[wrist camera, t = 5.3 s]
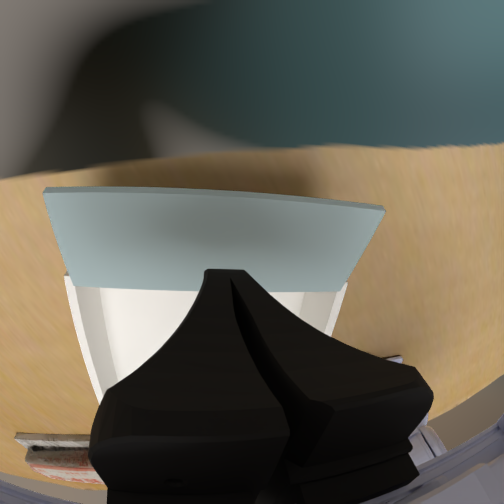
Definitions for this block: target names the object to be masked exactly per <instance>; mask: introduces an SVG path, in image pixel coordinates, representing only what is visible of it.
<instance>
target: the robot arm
mask: <svg viewBox="0 0 504 504" xmlns="http://www.w3.org/2000/svg"><path fill="white" fill-rule="evenodd" d="M402 361H403V358H402V357H401V356H398V357H393V358H388V359H383V358H380V357H377V356H374V355H371V354H369V353H366V352H363V351H361V350H358V349H356V348H353V347H351V346H349V345H346V344H344V343H342V342H340V341H338V340H336V339H334V338H332V337H330V336H328V335H326V334H325V333H323V332H321V331H319V330H318V329H316V328H314V327H313V326H311V325H310V324H308V323H306V322H305V321H303V320H302V319H300V318H299V317H298V316H296V315H295V314H293V313H292V312H291V311H290V310H288V309H287V308H286V307H284V306H283V305H282V304H281V303H280V302H278V301H277V300H276V299H275V298H274V297H273V296H271V295H270V294H269V293H268V292H267V291H266V290H265V289H264V288H263V287H262V286H261V285H260V284H259V283H258V282H257V281H255V280H254V279H253V278H252V277H251V276H250V275H249V274H248V273H247V272H246V271H245V270H242V269H206V270H205V271H204V279H203V283H202V285H201V288H200V290H199V293H198V295H197V297H196V299H195V301H194V303H193V305H192V306H191V308H190V310H189V312H188V313H187V315H186V317H185V318H184V320H183V321H182V322H181V324H180V325H179V327H178V328H177V329H176V330H175V332H174V333H173V334H172V335H171V337H170V338H169V339H168V340H167V341H166V342H165V343H164V345H163V346H162V347H161V348H160V349H159V350H158V351H157V352H156V353H155V354H153V355H152V356H151V357H150V358H149V359H148V360H147V361H145V362H144V363H143V364H142V365H141V366H140V367H139V368H137V369H136V370H135V371H134V372H132V373H131V374H130V375H128V376H127V377H125V378H124V379H122V380H121V381H119V382H118V383H116V384H115V385H113V386H112V387H110V388H108V389H107V390H106V392H105V394H104V396H103V398H102V401H101V403H100V405H99V408H98V410H97V413H96V416H95V419H94V422H93V425H92V429H91V435H90V442H89V449H88V459H89V461H90V464H91V465H92V467H93V468H94V470H95V471H96V472H97V474H98V475H99V477H100V478H101V479H102V481H103V482H104V483H105V485H106V486H107V487H108V490H107V504H504V413H503V414H502V416H501V417H500V418H499V419H498V420H497V423H495V424H494V425H492V426H490V427H489V428H487V429H486V430H484V431H483V432H481V433H479V434H478V435H476V436H474V437H473V438H471V439H469V440H467V441H466V442H464V443H462V444H460V445H458V446H457V447H455V448H453V449H451V450H449V451H447V450H446V448H445V447H444V445H443V443H442V442H441V440H440V438H439V437H438V436H437V434H436V432H435V431H434V430H433V429H432V428H431V427H430V426H426V424H427V421H428V412H429V410H430V408H431V405H432V402H433V399H434V396H433V391H432V390H431V388H430V387H429V386H428V384H427V383H426V381H425V380H424V379H423V377H422V376H421V374H420V373H419V372H418V370H417V369H416V368H415V367H413V366H409V365H405V364H401V363H402ZM421 434H422V435H421ZM422 436H423V437H422ZM0 504H81V503H75V502H71V501H67V500H63V499H59V498H55V497H51V496H47V495H44V494H41V493H37V492H34V491H31V490H28V489H25V488H21V487H19V486H16V485H13V484H10V483H8V482H5V481H2V480H0Z"/></svg>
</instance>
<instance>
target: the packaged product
mask: <svg viewBox="0 0 504 504" xmlns="http://www.w3.org/2000/svg"><path fill="white" fill-rule="evenodd" d="M14 439H15V440H16V441H18V442H19V443H20V444H22V445H23V446H24V447H25V448H27V449H28V452H27V454H26V457H25V461H26V462H27V464H28V465H29V466H30V468H31V469H32V470H33V471H35V472H37V473H40V474H42V475H44V476H47V477H50V478H53V479H59V480H64V481H65V480H67V481H74V482H83V483H97V484H105V483H104V482H103V481H102V479H101V478H100V477H99V475H98V474H97V472H96V471H95V470H94V468H93V467H92V465H91V464H90V461H89V459H88V449H89V442H90V435H60V434H33V433H17V434H16V436H15V437H14Z"/></svg>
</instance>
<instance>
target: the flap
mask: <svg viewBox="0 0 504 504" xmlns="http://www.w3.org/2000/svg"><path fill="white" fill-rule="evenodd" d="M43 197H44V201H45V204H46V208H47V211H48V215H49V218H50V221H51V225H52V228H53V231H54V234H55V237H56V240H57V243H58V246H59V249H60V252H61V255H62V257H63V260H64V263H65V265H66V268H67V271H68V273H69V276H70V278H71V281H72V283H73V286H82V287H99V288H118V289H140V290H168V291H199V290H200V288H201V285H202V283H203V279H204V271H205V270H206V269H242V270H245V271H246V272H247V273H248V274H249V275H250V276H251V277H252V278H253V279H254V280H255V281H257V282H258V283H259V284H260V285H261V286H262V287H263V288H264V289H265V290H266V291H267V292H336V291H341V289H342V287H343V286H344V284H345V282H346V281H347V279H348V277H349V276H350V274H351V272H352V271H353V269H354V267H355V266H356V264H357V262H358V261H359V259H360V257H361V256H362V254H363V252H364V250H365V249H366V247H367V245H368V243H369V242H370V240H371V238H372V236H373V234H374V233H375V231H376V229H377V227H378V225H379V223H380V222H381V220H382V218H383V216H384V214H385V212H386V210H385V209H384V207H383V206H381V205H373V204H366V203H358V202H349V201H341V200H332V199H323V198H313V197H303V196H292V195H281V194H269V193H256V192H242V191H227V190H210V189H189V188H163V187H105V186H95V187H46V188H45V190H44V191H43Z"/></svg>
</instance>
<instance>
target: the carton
mask: <svg viewBox="0 0 504 504" xmlns="http://www.w3.org/2000/svg"><path fill="white" fill-rule="evenodd" d="M64 279H65V285H66V290H67V295H68V299H69V304H70V308H71V313H72V317H73V321H74V325H75V329H76V333H77V337H78V340H79V344H80V347H81V351H82V354H83V357H84V361H85V364H86V367H87V370H88V373H89V376H90V379H91V382H92V385H93V388H94V391H95V394H96V396H97V399H98V402H99V404H100V403H101V401H102V398H103V396H104V394H105V392H106V390H107V389H108V388H110V387H112V386H113V385H115V384H116V383H118V382H119V381H121V380H122V379H124V378H125V377H127V376H128V375H130V374H131V373H132V372H134V371H135V370H136V369H137V368H139V367H140V366H141V365H142V364H143V363H144V362H145V361H147V360H148V359H149V358H150V357H151V356H152V355H153V354H155V353H156V352H157V351H158V350H159V349H160V348H161V347H162V346H163V345H164V343H165V342H166V341H167V340H168V339H169V338H170V337H171V335H172V334H173V333H174V332H175V330H176V329H177V328H178V327H179V325H180V324H181V322H182V321H183V320H184V318H185V317H186V315H187V313H188V312H189V310H190V308H191V306H192V305H193V303H194V301H195V299H196V297H197V295H198V293H199V291H168V290H140V289H118V288H99V287H82V286H73V283H72V281H71V278H70V276H69V273H68V271H67V272H66V273H65V275H64ZM347 285H348V282H347V281H346V282H345V284H344V286H343V287H342V289H341V291H336V292H268V293H269V294H270V295H271V296H273V297H274V298H275V299H276V300H277V301H278V302H280V303H281V304H282V305H283V306H284V307H286V308H287V309H288V310H290V311H291V312H292V313H293V314H295V315H296V316H298V317H299V318H300V319H302V320H303V321H305V322H306V323H308V324H310V325H311V326H313V327H314V328H316V329H318V330H319V331H321V332H323V333H325V334H326V335H328V336H330V337H331V335H332V332H333V329H334V326H335V323H336V320H337V317H338V314H339V311H340V307H341V304H342V301H343V298H344V295H345V291H346V288H347Z"/></svg>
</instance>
